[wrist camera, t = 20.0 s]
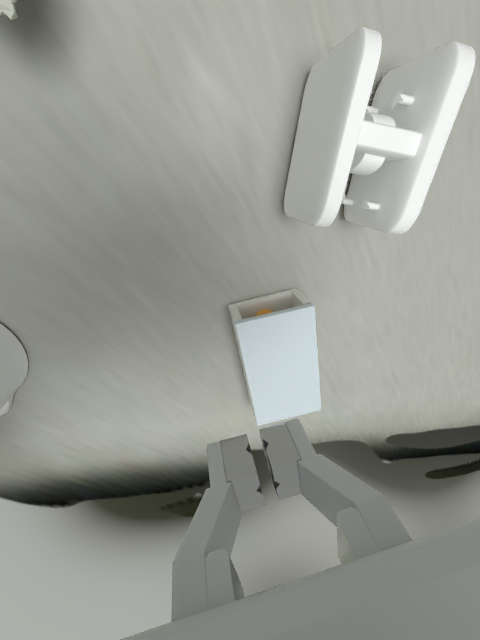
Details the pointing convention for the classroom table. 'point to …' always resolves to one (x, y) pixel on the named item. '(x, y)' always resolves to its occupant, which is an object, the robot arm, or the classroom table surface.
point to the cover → (281, 362)
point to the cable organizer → (373, 133)
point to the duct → (264, 302)
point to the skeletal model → (8, 8)
